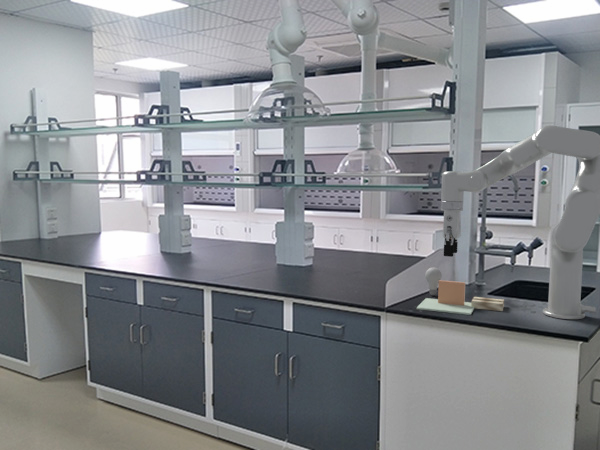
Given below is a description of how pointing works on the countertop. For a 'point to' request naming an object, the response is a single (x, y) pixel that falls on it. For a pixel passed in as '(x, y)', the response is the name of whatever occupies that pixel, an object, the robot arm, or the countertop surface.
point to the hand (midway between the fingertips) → (450, 254)
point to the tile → (451, 292)
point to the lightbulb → (433, 279)
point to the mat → (446, 307)
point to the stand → (488, 303)
